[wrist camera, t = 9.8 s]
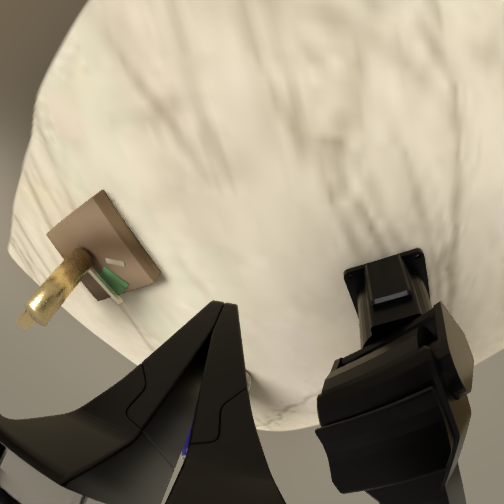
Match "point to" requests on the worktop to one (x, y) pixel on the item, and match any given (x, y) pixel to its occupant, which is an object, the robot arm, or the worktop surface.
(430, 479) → the robot arm
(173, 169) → the worktop surface
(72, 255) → the dial handle
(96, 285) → the dial board
